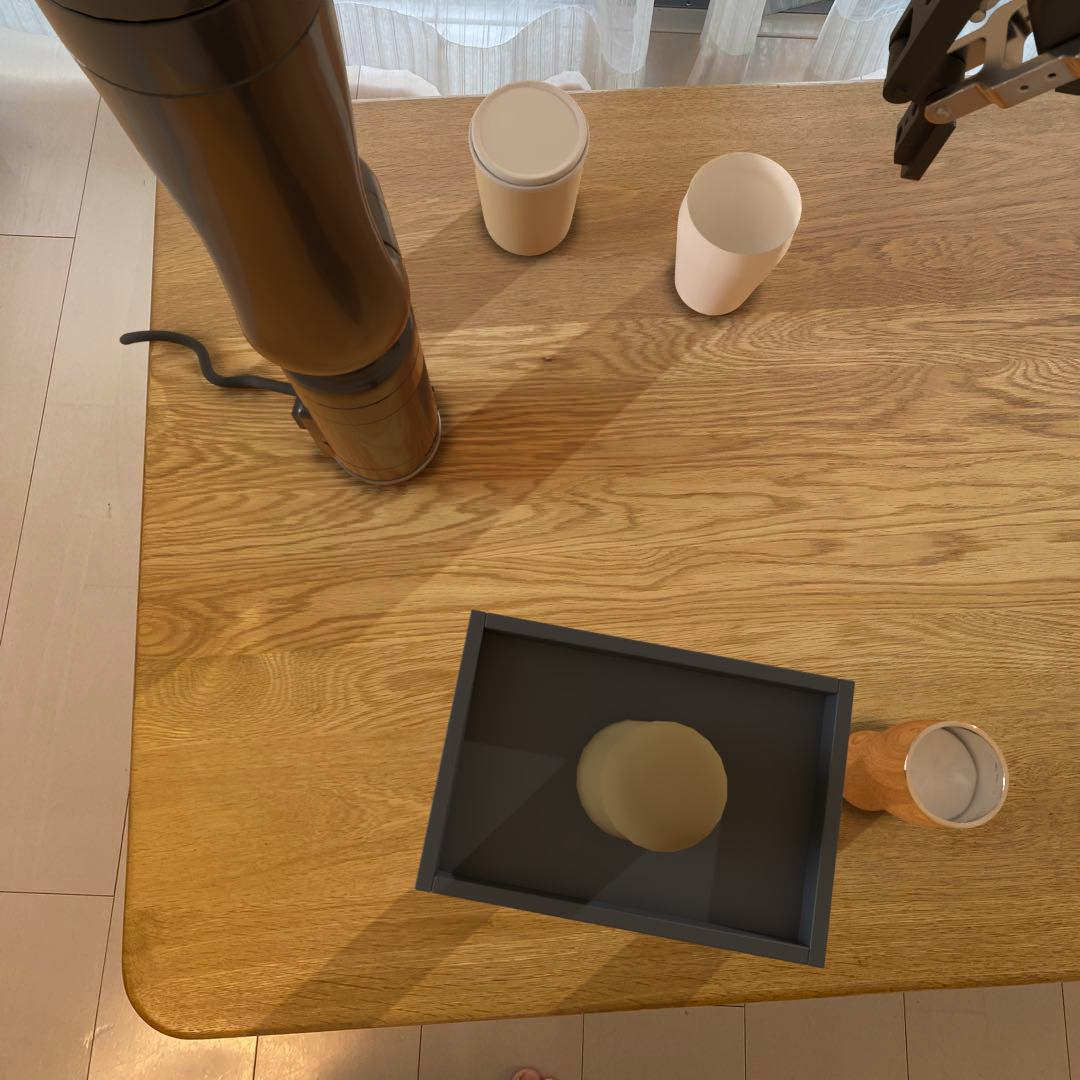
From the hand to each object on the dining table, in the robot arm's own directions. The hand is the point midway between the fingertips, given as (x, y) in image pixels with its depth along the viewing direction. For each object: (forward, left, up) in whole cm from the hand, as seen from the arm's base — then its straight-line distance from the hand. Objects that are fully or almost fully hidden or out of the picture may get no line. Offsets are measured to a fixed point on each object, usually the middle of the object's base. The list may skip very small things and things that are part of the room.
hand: (1012, 179), depth 39 cm
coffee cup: (-24, +19, -41) cm, 51 cm away
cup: (-7, +16, -41) cm, 44 cm away
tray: (-10, -27, -41) cm, 49 cm away
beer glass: (+11, -23, -41) cm, 48 cm away
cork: (-10, -27, -15) cm, 32 cm away
